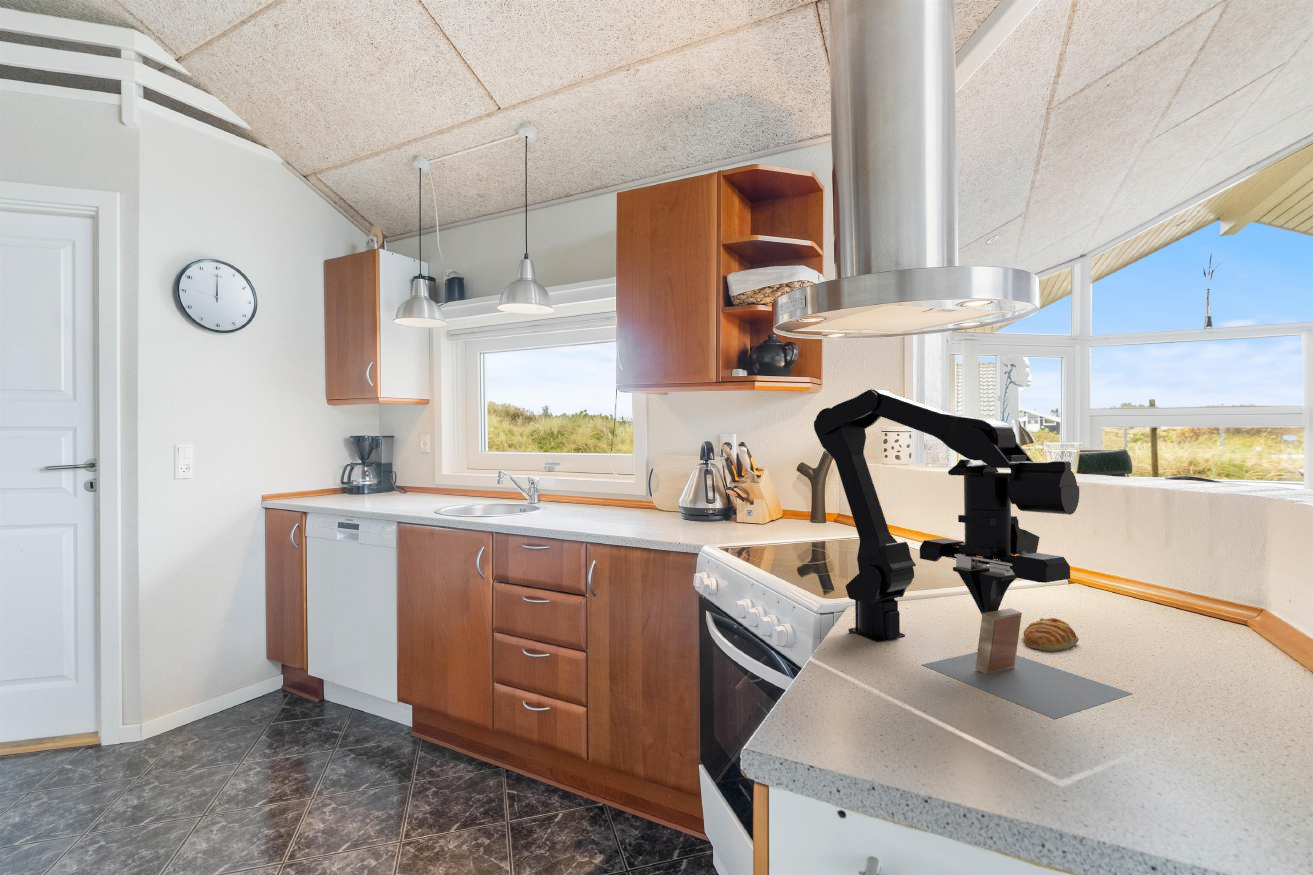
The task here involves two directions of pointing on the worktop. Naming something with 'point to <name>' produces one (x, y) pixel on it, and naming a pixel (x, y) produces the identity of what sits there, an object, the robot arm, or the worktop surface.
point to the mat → (1032, 685)
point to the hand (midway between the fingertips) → (989, 619)
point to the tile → (998, 640)
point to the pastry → (1050, 635)
